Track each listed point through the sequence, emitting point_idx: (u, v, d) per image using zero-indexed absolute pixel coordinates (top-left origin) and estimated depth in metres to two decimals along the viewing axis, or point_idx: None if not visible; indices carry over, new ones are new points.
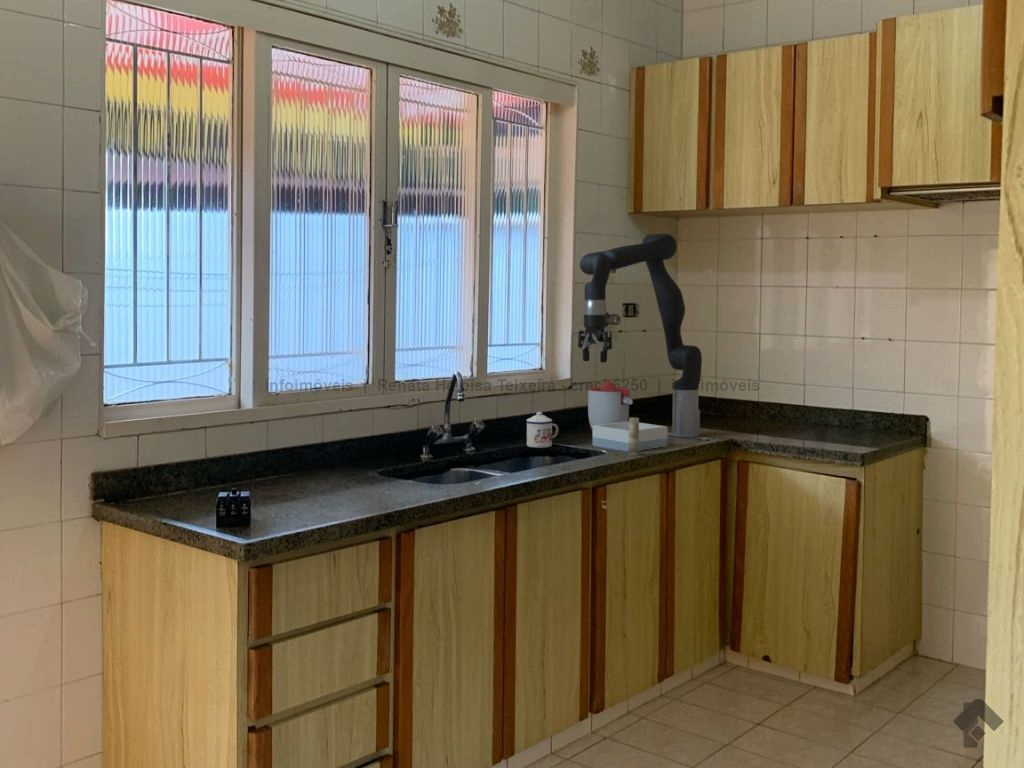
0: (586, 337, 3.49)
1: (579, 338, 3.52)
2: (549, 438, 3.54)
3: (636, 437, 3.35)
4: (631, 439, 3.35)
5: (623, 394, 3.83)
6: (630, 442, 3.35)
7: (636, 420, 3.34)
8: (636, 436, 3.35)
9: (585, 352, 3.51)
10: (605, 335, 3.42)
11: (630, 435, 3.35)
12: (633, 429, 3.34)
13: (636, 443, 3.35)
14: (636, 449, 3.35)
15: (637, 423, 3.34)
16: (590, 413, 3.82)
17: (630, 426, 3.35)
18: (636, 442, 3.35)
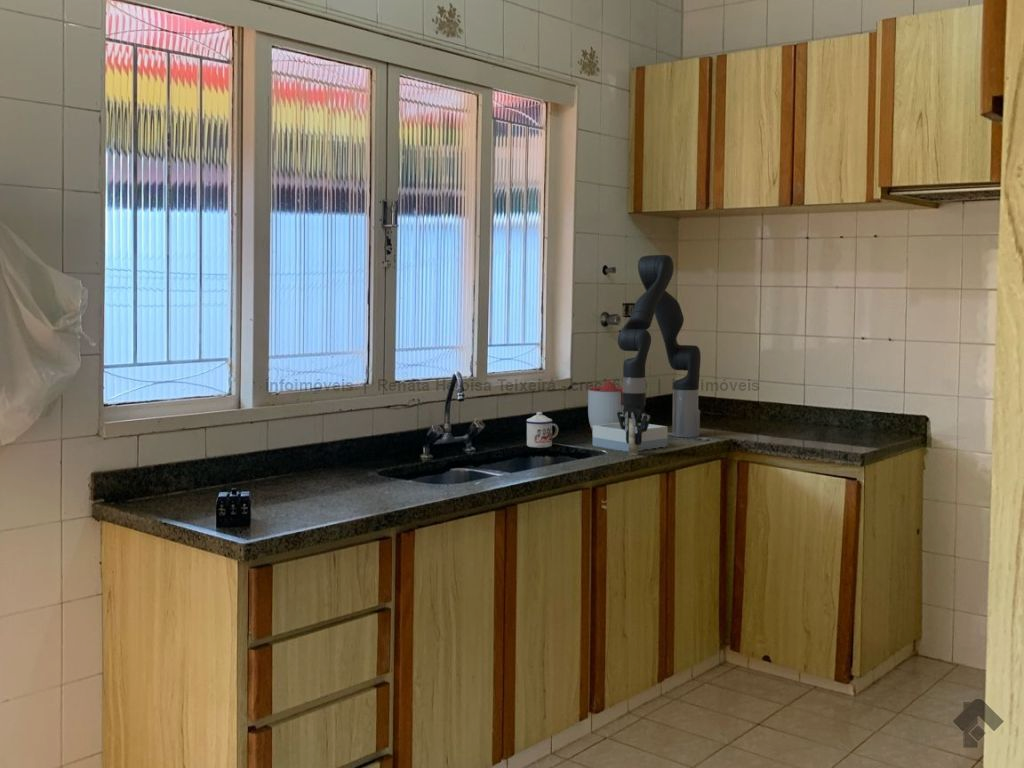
0: (626, 416, 3.36)
1: (620, 420, 3.39)
2: (549, 438, 3.54)
3: None
4: (631, 439, 3.35)
5: None
6: (630, 442, 3.35)
7: None
8: None
9: (628, 434, 3.37)
10: (644, 419, 3.30)
11: (630, 435, 3.35)
12: (633, 429, 3.34)
13: None
14: (636, 449, 3.35)
15: (637, 423, 3.34)
16: (590, 413, 3.82)
17: (630, 426, 3.35)
18: None
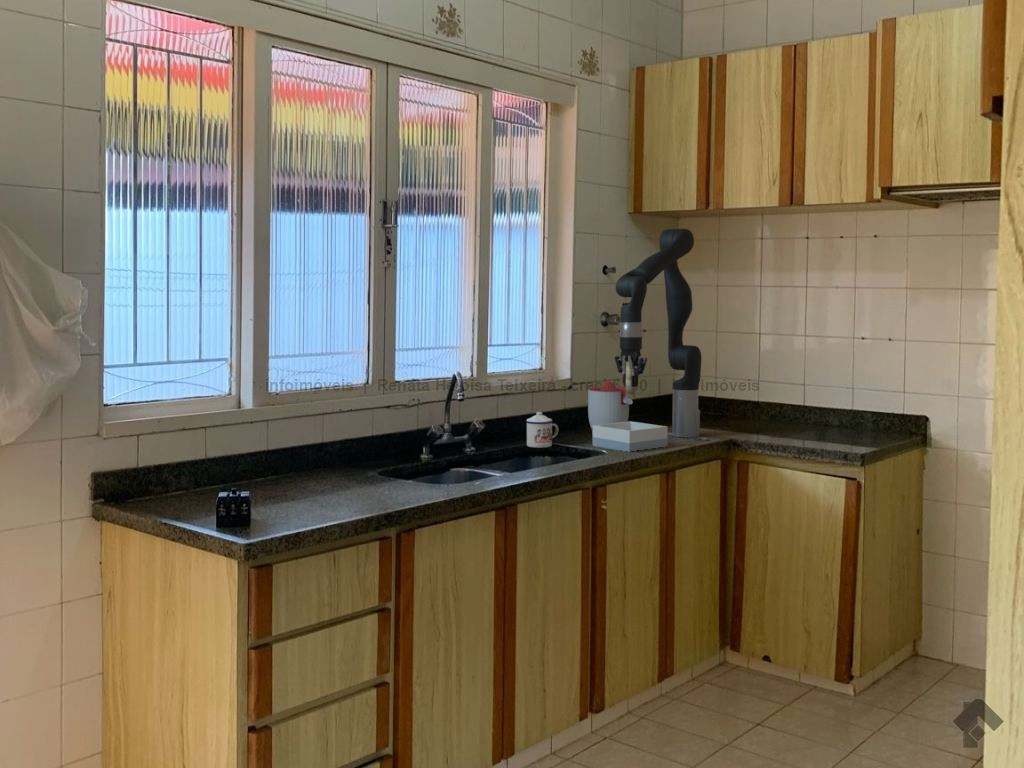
0: (623, 360, 3.53)
1: (617, 363, 3.56)
2: (549, 438, 3.54)
3: None
4: (628, 382, 3.51)
5: (623, 394, 3.83)
6: (627, 384, 3.52)
7: None
8: None
9: None
10: (640, 362, 3.47)
11: (627, 377, 3.52)
12: (630, 371, 3.51)
13: None
14: (633, 391, 3.52)
15: None
16: (590, 413, 3.82)
17: (627, 369, 3.51)
18: None
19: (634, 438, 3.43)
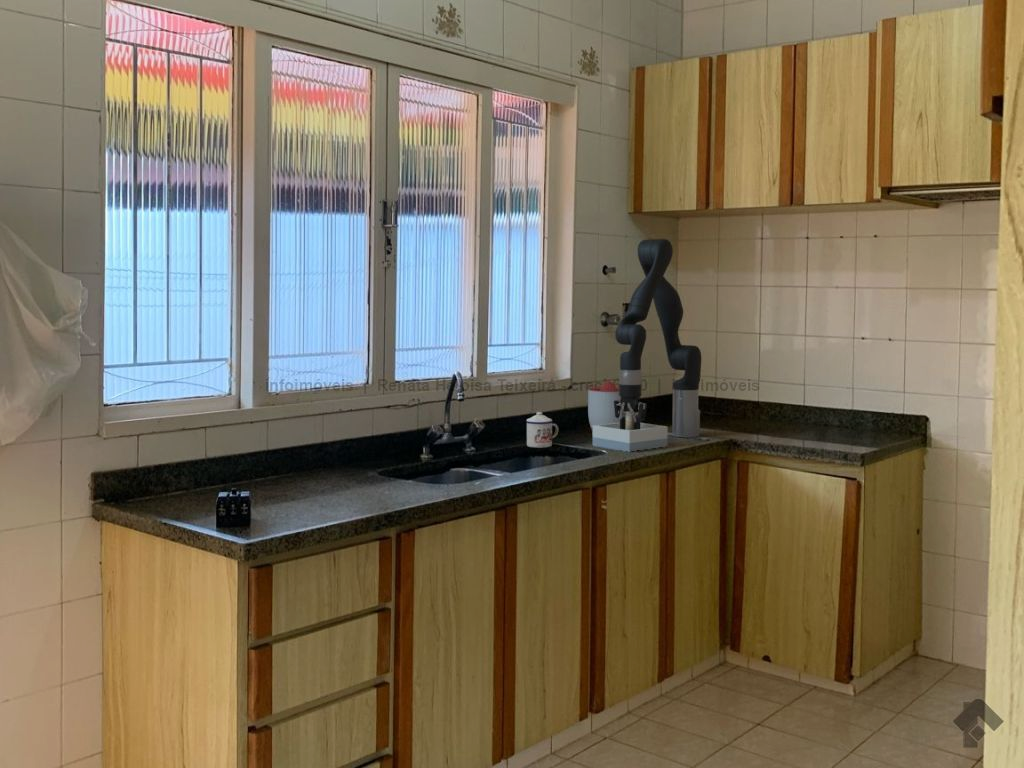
0: (622, 406, 3.54)
1: (615, 408, 3.58)
2: (549, 438, 3.54)
3: (632, 429, 3.53)
4: None
5: None
6: None
7: None
8: (632, 428, 3.53)
9: (622, 422, 3.56)
10: (640, 407, 3.48)
11: (627, 427, 3.53)
12: (629, 421, 3.52)
13: None
14: None
15: None
16: (590, 413, 3.82)
17: (627, 419, 3.53)
18: None
19: (634, 438, 3.43)
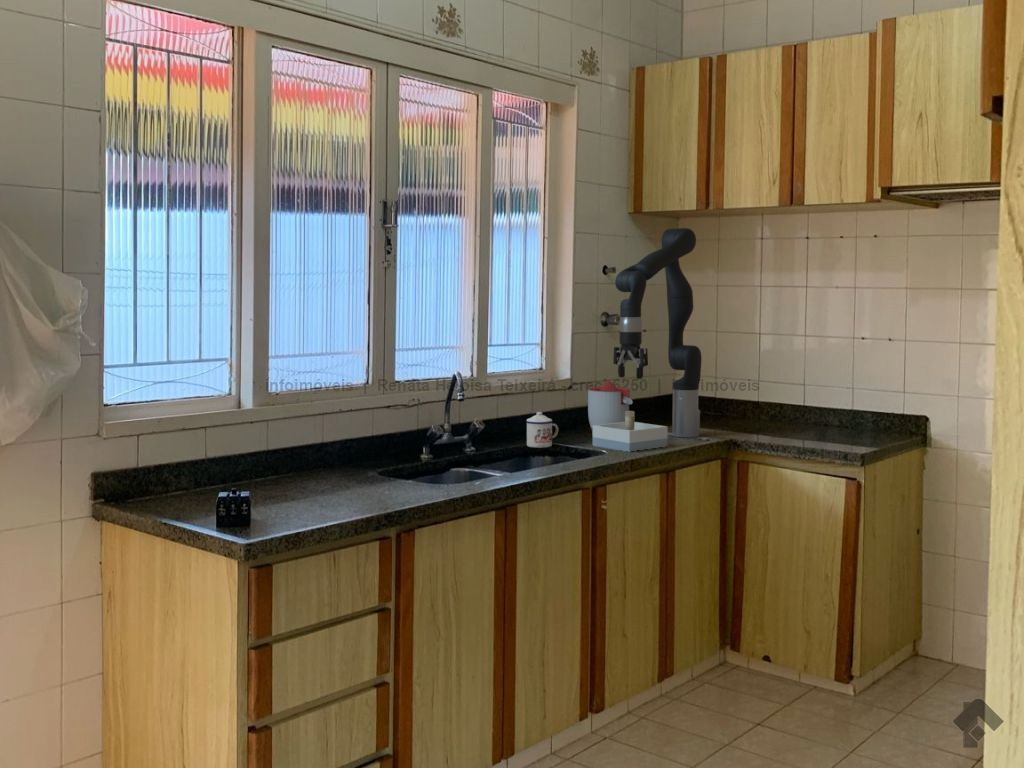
0: (622, 354, 3.54)
1: (614, 354, 3.57)
2: (549, 438, 3.54)
3: (632, 429, 3.53)
4: None
5: (623, 394, 3.83)
6: None
7: (632, 413, 3.52)
8: (632, 428, 3.53)
9: (621, 368, 3.56)
10: (641, 352, 3.47)
11: (626, 427, 3.53)
12: (629, 421, 3.53)
13: None
14: None
15: (633, 416, 3.53)
16: (590, 413, 3.82)
17: (626, 419, 3.53)
18: None
19: (634, 438, 3.43)
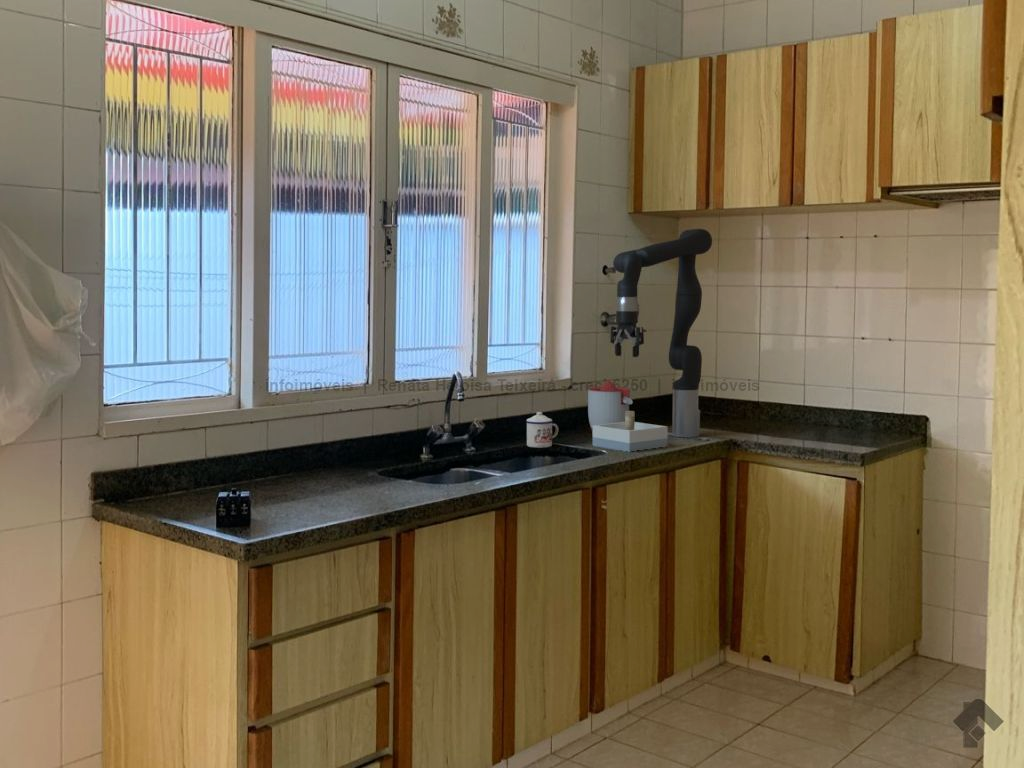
0: (618, 333, 3.64)
1: (611, 334, 3.67)
2: (549, 438, 3.54)
3: (632, 429, 3.53)
4: None
5: (623, 394, 3.83)
6: None
7: (632, 413, 3.52)
8: (632, 428, 3.53)
9: (617, 347, 3.66)
10: (637, 331, 3.57)
11: (626, 427, 3.53)
12: (629, 421, 3.53)
13: None
14: None
15: (633, 416, 3.53)
16: (590, 413, 3.82)
17: (626, 419, 3.53)
18: None
19: (634, 438, 3.43)
